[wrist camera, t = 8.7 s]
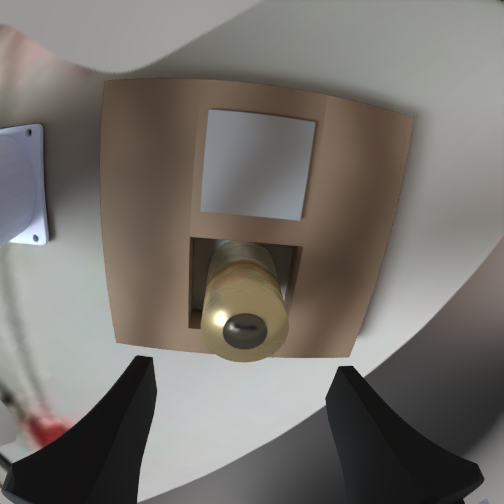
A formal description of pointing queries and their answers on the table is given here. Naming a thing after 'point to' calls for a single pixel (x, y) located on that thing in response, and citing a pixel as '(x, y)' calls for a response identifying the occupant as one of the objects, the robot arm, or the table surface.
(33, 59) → the table surface
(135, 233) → the jig plate
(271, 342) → the brass bushing
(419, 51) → the table surface
